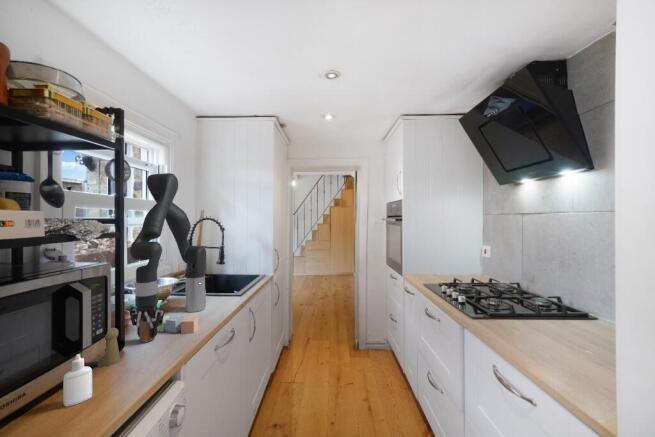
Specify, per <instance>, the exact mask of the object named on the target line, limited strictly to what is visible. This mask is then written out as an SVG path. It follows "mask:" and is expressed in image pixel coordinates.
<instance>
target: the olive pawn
mask: <svg viewBox="0 0 655 437" xmlns="http://www.w3.org/2000/svg"><path fill="white" fill-rule="evenodd" d="M109 328H110V330H109V331H108V332H107V334H106V336H105V340H106V349H105V352H106V354H105V355H104V356H102V357H101V358H99V357H98V358H99V359H98V358H97V367H98V368H104V367H103V366H106V367H111V366H113V365H116V364H117V363H119V362H120V361H121V357H120V351H119V343H118V339H117V338H118V336H119V334H120V333H119V329H118V328H116V327H109ZM110 365H111V366H110Z"/></svg>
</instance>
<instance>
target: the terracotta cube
mask: <svg viewBox="0 0 655 437" xmlns="http://www.w3.org/2000/svg"><path fill="white" fill-rule="evenodd" d="M198 330H199V317H184V320H183V321H181V330H180V333H181V335H182V334H183V335H185V334H194V333H195V332H197V331H198Z"/></svg>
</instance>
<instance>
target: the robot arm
mask: <svg viewBox="0 0 655 437" xmlns="http://www.w3.org/2000/svg"><path fill="white" fill-rule="evenodd" d="M146 185H147V189H148V191H149V193H150V195H151V197H152V198H153V199H154V201H155V204H154V205H153V206H152V207H151V208H150V209H149V210H148V212H147V214H145V217H144V220H143V223H142V228H141V230H140V232H139V233H138V235H137V236H136V238H135V239H134V241H133V242H132V244H131V245H130V249H129V254H130V255H129V256H130V257H131V258H132V259H134V260H135V261H148V262H147V264H146V265H140V266H138V267H137V268H136V270H135V289H134V290H135V291H134V292H135V297H134V299H135V307H136V308H134V309H133V308H132V309H130V310H129V316H130V322H131V325H132V326H135V327H136V330H137V331H136V334H137V337H138V338H140V328H139V323H140V321H141V320H144V319H146V320H147V321H148V323H149V324H150V327H151V329H150V337H151V338H154V337H155V338H156V337H157V335H158V331H157V327H158V326H160V325H162V322H163V317H164V316H165V310H164V309H162V310H160V309H158V304H159V285H158V284H159V283H158V267H159V264H160V261H161V257H162V253H163V247H162V244H160V242H158V241H153V240H155V239H159V238H160V237H161V235H162V231H163V227H164V225H165V222H166V224H167V226H168V228H169V230H170V232H171V234H172V236H173V238H174V240H175V243H176V245H177V249H178V252H179V254H180V257H181V259H182V261H183V262H184V263H185V264H189V265H190V264H193V265H194V268H192V269H189V270H187V271H185V312H189V313H196V312H197V313H198V312H202V311H203V310H205V309H206V307H207V305H206V304H207V301H206V300H207V297H206V296H207V292H206V291H207V290H206V270H207V250H206V248H205V247H204V246H203V245H191V244H190V243H189V240H188V238H189V235H190V231H191V227H192V226H191V222H190V220H189V217H188V215H187V213H186V211H184V210H183V209H182V208H181V207H180V206H178V205H177V204H176V203H174V199H175V197H176V195H177V193H178V190H179V180H178V176H176V175H175V174H174V173H170V172H169V173H168V172H167V173H154V174H150V175H148V176H147V178H146ZM151 319H152V320H151ZM153 321H154V324H153Z"/></svg>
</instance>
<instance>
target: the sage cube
mask: <svg viewBox="0 0 655 437" xmlns="http://www.w3.org/2000/svg"><path fill="white" fill-rule="evenodd" d="M169 318H171V317H170V315H164V317H163V322H162V325H160V326H158V327H157V332H164V331H166V320H167V319H169Z"/></svg>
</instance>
